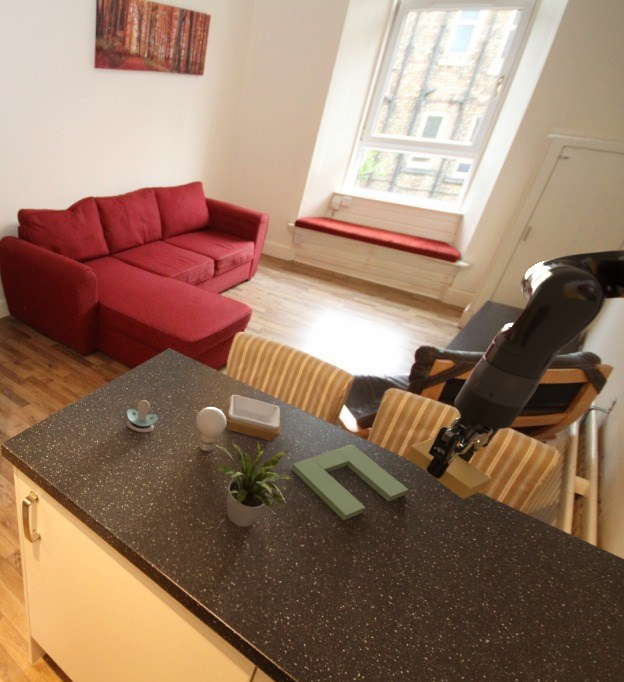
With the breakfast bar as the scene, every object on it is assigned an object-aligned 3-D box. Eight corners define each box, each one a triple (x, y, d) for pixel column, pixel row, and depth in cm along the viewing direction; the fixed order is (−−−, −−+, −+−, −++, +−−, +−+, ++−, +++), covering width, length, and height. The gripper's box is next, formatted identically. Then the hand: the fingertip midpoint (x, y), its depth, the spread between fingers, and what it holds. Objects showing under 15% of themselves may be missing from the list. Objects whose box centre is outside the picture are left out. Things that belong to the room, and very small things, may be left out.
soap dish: (221, 431, 105) (225, 415, 102) (225, 407, 113) (229, 391, 110) (276, 446, 102) (281, 429, 99) (276, 420, 110) (281, 404, 107)
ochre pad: (426, 448, 81) (432, 438, 80) (484, 489, 73) (492, 478, 72) (405, 456, 79) (411, 445, 77) (463, 499, 71) (470, 488, 70)
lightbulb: (184, 448, 99) (192, 409, 93) (200, 435, 103) (209, 397, 98) (209, 463, 95) (219, 424, 90) (224, 449, 99) (234, 410, 94)
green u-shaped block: (343, 520, 85) (346, 515, 84) (290, 468, 96) (292, 463, 95) (405, 494, 92) (408, 489, 91) (350, 449, 103) (352, 444, 102)
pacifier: (153, 437, 101) (158, 420, 106) (156, 416, 98) (161, 400, 103) (122, 429, 103) (128, 413, 108) (124, 408, 100) (130, 393, 105)
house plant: (191, 535, 80) (208, 469, 71) (199, 479, 91) (214, 417, 83) (273, 558, 77) (300, 493, 69) (271, 497, 88) (294, 435, 80)
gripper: (496, 415, 62) (440, 498, 70) (549, 395, 67) (492, 474, 76) (443, 384, 67) (397, 464, 76) (496, 368, 73) (448, 445, 81)
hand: (445, 469), depth 76 cm, fingers closed on ochre pad, 6 cm apart
